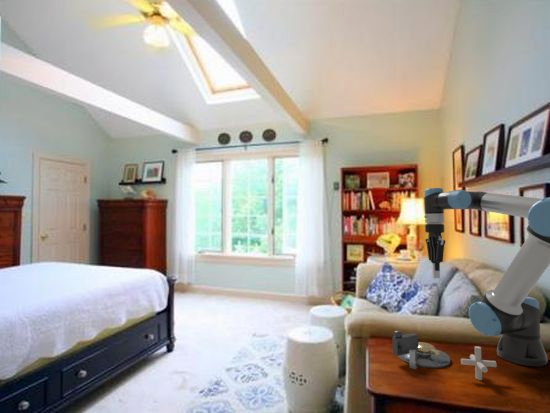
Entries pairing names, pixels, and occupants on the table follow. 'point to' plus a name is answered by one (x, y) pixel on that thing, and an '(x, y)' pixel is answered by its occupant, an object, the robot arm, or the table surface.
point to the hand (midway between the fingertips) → (436, 278)
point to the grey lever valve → (410, 344)
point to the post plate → (425, 359)
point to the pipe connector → (478, 363)
